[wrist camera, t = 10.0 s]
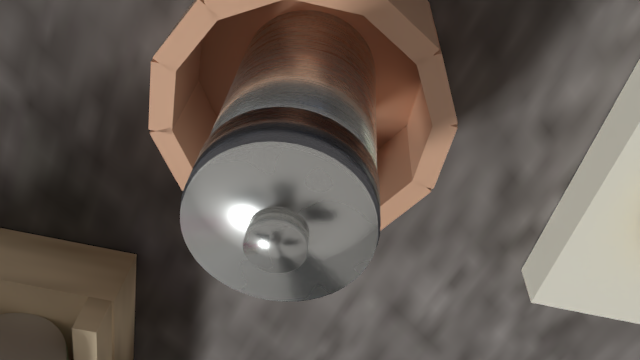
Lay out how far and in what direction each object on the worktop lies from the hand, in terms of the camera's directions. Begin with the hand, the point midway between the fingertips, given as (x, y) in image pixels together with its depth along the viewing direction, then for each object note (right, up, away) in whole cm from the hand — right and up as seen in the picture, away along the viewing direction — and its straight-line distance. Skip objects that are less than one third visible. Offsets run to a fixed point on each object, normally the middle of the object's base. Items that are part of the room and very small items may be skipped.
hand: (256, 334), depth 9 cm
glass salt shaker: (+1, +5, +8) cm, 10 cm away
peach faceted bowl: (+1, +6, +8) cm, 10 cm away
